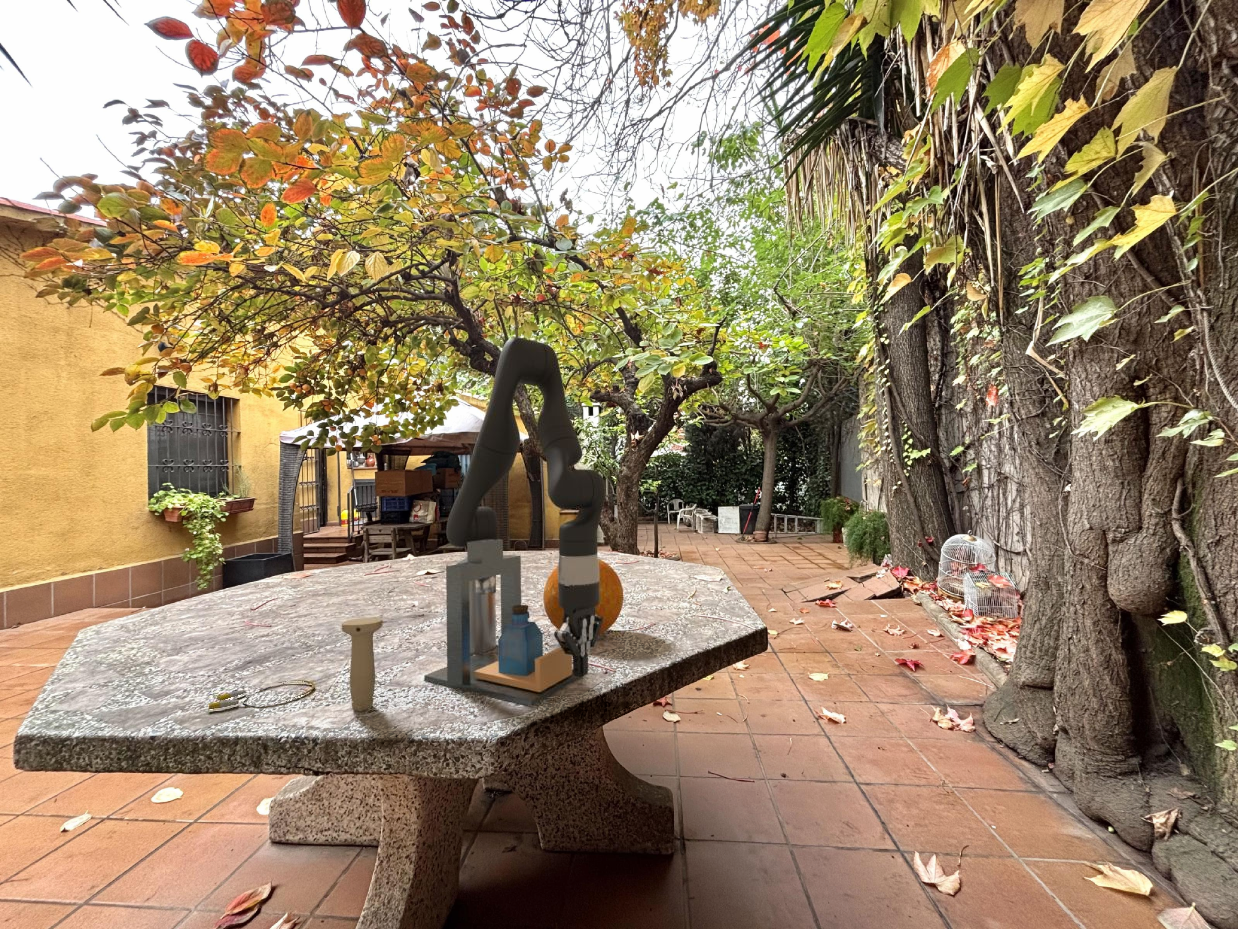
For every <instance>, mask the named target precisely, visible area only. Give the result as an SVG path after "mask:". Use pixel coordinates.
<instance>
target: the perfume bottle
mask: <svg viewBox="0 0 1238 929" xmlns="http://www.w3.org/2000/svg"><path fill="white" fill-rule="evenodd" d="M512 609H513V613H512V614H511V619H513V623H511V624H509V625H507V626H506V627H505V629H504V631H503V632H502V634H501V633H500V634H501V635H500V636H499V638H498V640H497V642H498V643H497V644H498V645H497V647H498V648H497V653H498V654H497V655H498V662H499V673H505V674H513V675H521V676H528V675H530V674H531V673H533V672H534V671H535V659H536V658H538V657H540V656H542V655H544V648H543V647H544V644H543V642H544V640H543V634H544V633H543V632H542V630H541V629H540V627H539V626H538V625H537V623H536V622H535V621H529V619H530V611H529V605H527V604H521V605H516V606H513V607H512Z"/></svg>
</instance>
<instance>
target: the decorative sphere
mask: <svg viewBox="0 0 1238 929" xmlns="http://www.w3.org/2000/svg"><path fill="white" fill-rule="evenodd" d="M598 562H599V582H600V603H599V605H597V606H596V607H595V609H596V615H597V616H600V617H603V622H602V626H601V629H600V632H599V635H598V636H600V635H602V634H603V633H605V632H607V631H608V630H609V629H610V628H611V627H612V626H613V625H614V624H615V623H616V622H617V620H618V618H619V616H620V614H621V612H622V609H623V606H624V589H623V585H622V582H621V580H620V577H619V575H618V574H617V572H616V570H614V569H613V567H612V566H611V565H609V564H608V563H606V561H604V560H602V559H600V558H598ZM542 600H543V606H544V607H543V608H544V610H545V613H546V616H547V617H548V620H549V621H550V623H551V624H552V626H554V627H555V628H556V630H560V629H561V627H562V625H563V622H562V618H563V614H564V610H563V608H562V607H561V606H560V605H559V597H558V565H557V566H556V567H555V568H554V569H553V570H552V572H551V573H550V574H549V576H548V578H547V580H546V582H545V584H544V590H543V597H542Z"/></svg>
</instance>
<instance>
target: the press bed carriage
mask: <svg viewBox="0 0 1238 929" xmlns="http://www.w3.org/2000/svg"><path fill="white" fill-rule="evenodd" d="M572 669H573V656H572V655H570V654H565V653H564V651H563V650H562V648H561V646H560V647H557V648H555V649H553V650H552V651H549V652H547V653H545V654H543V655H542V656H540V657H538V658H536V659H535V671H534V672H533V673H531V674H530V675H528V676H521V675H513V674H505V673H499V662H498V661H497V662H495V663H492V664H490V665H488V666H485V667H483V668H481V669H478V670H476V671H474V678H478V679H483V680H487V681H492V682H496V683H501V684H505V685H510V686H514V687H519V688H523V689H528V690H532V691H537V692H541V691H543V690H545V689H547V688H548V687H550V686H552V685H554V684H555V683H557V682H559V681H561V680H563V679H564V678H566V677H568V676H570V675H572Z"/></svg>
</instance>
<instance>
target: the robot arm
mask: <svg viewBox="0 0 1238 929" xmlns="http://www.w3.org/2000/svg"><path fill="white" fill-rule="evenodd" d="M559 363H560V362H559V360H558V357H557V354H556V351H555V350H554V349H553V346H551V345H549V344H546V343H543V342H540V341H536V340H532V339H527V338H523V337H518V336H512V337H510V338H509V339H508V340H506V342H505V344H504V345H503V347H502V349H501V352H500V355H499V358H498V362H497V366H496V371H495V376H494V379H493V383H492V384H493V385H492V389H491V393H490V398H489V402H488V405H487V409H486V411H485V415H484V419H483V421H482V424H481V427H480V430H479V433H478V434H477V438H476V441H475V445H474V448H473V451H472V454H471V457H470V461H469V464H468V468H467V471H466V474H465V477H464V478H463V482H462V485H461V488H460V490H459V492H458V494H457V496H456V499H455V501H454V503H453V506H452V507H451V510H450V513H449V514H448V518H447V524H446V530H445V531H446V539H447V541H448V542H449V544H450V546H451V545H452V547H456V548H467V542H472V541H479V540H486V539H497V540H499V520H498V517H497V514H496V511H494V509H493V508H492V507H489V506H480V505H481V504H482V502H483V500H484V499H485V497H486V496H487V495H488V494H489V493H491V491H492V490H493V489H494V488H495V487H496V486H497V485H498V484H500V482H501V481H502V480H504V479H505V478H506V477H507V475H508V474H509V473H510V471H512V468H513V465H514V463H515V460H516V458H517V455H518V452H519V449H520V446H521V445H520V444H521V434H520V430H519V426H518V423H517V420H516V417H515V412H514V399H515V394H516V390H517V388H518V386H519V384H521V385H528V386H533V387H537V388H538V389H539V391H540V393H541V395H542V399H543V402H542V403H543V404H542V407H541V409H540V413H539V416H538V419H537V435H538V439H539V442H540V445H541V448H542V451H543V453H544V458H545V460H546V461H545V462H546V473H547V494H548V498H549V499H550V501H551V503H552V504H553V505H554V506H555V507H557V508H559V509H562V510H567V509H568V510H569V509H570V510H571V509H578V511H577V515H576V516H575V518H574V519H572V520H569V521H566V522H564V523H562V524H560V526H559V529H558V550H559V551H558V554H559V555H558V563H557V566H558V597H559V605H560V606H561V607H562V608H563V610H564V614H563V618H562V622H563V625H562V627H561V629H560V630H558V629H556V630H554V633H553V636H554V638H555V640H556V641H557V643H558V645H559V646H560V647H561V648H562V650H563V651H564V653H565V654H570V655H572V669H573V673H574V675H575V676H578V677H581V678H584V677H585V676H587V675H588V674H589V654H590V652H591V648H595V646H596V643H597V641H598V637H599V636H600V635H599V632H600V629H601V626H602V622H603V617H600V616H597V615H596V609H595V607H596V606H597V605H599V603H600V582H599V562H598V559H599V556H598V529H599V524H600V521H601V515H602V511H603V508H604V504H605V500H606V484H605V483H606V482H605V481H604V478H603V476H602V475H601V473H599V472H598V471H597V470H593V469H570V467H572V466H575V465H577V464H578V463H579V462H580V461H581V460H582V457H583V449H582V446H581V443H580V441H579V438H578V436H577V432H576V430H575V428H574V425H573V423H572V419H571V416H570V413H569V409H568V406H567V405H568V404H567V399H566V394H565V388H564V382H563V379H562V377H563V376H562V372H561V367H560V364H559ZM465 562H467V557H465V558H463V559H461V560H460V561H458V562H457V563H456V564H460V563H465ZM496 600H497V599H496V593H493V594H487V595H478V594H476V580H474V581H469V610H470V655H471V654H480V653H482V652H484V653H487V652H489V651H491V650H494V649H495V648H496V647H497V619H496V618H497V615H496V614H497V608H496V603H497V602H496Z"/></svg>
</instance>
